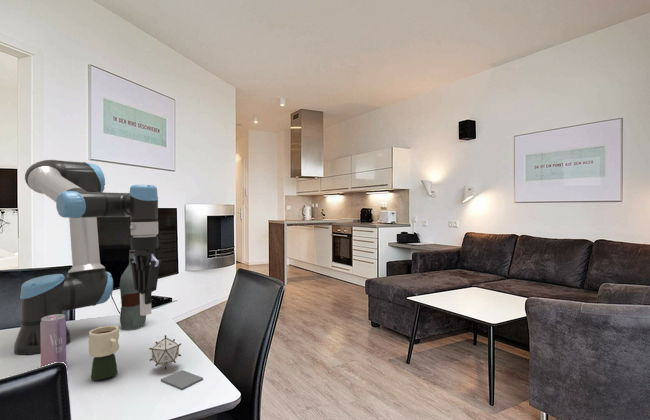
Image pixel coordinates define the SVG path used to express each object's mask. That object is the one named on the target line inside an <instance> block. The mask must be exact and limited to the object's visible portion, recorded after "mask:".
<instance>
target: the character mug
mask: <svg viewBox="0 0 650 420" xmlns="http://www.w3.org/2000/svg"><path fill="white" fill-rule="evenodd" d="M119 338H120V327H119V326H117V325H106V326H101V327H96V328H94V329H93V328H92V329H91V330H90V331H89V332H88V356H90V357H91V358H93V359H92V365H91V371H90V372H91V374H90V378H91V380H94V381H99V380H102V379H109V378H111V377H115V376H116V375H117V374H118V367H117V359H116V355H115V354H116V353H117V351H118V350H119V349H120V344H119Z"/></svg>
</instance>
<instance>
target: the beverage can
mask: <svg viewBox="0 0 650 420" xmlns="http://www.w3.org/2000/svg"><path fill="white" fill-rule="evenodd" d="M66 325H67V318H66V315H65V313H64V314H56V315H50V316H46V317H43V318H42V319H41V323H40V336H41V353H40V368H41V367H42V366H45V365H48V364H51V363H54V362H64V363H65V364H66V365H67V345H66Z"/></svg>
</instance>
